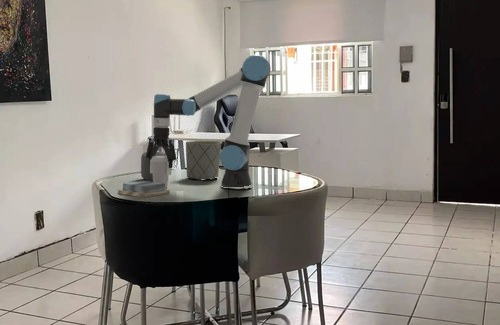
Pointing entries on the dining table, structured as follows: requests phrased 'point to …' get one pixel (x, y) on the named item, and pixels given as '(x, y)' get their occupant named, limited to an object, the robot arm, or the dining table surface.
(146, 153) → the robot arm
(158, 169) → the coffee cup
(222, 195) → the dining table surface
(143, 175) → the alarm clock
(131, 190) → the pedestal
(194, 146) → the planter
